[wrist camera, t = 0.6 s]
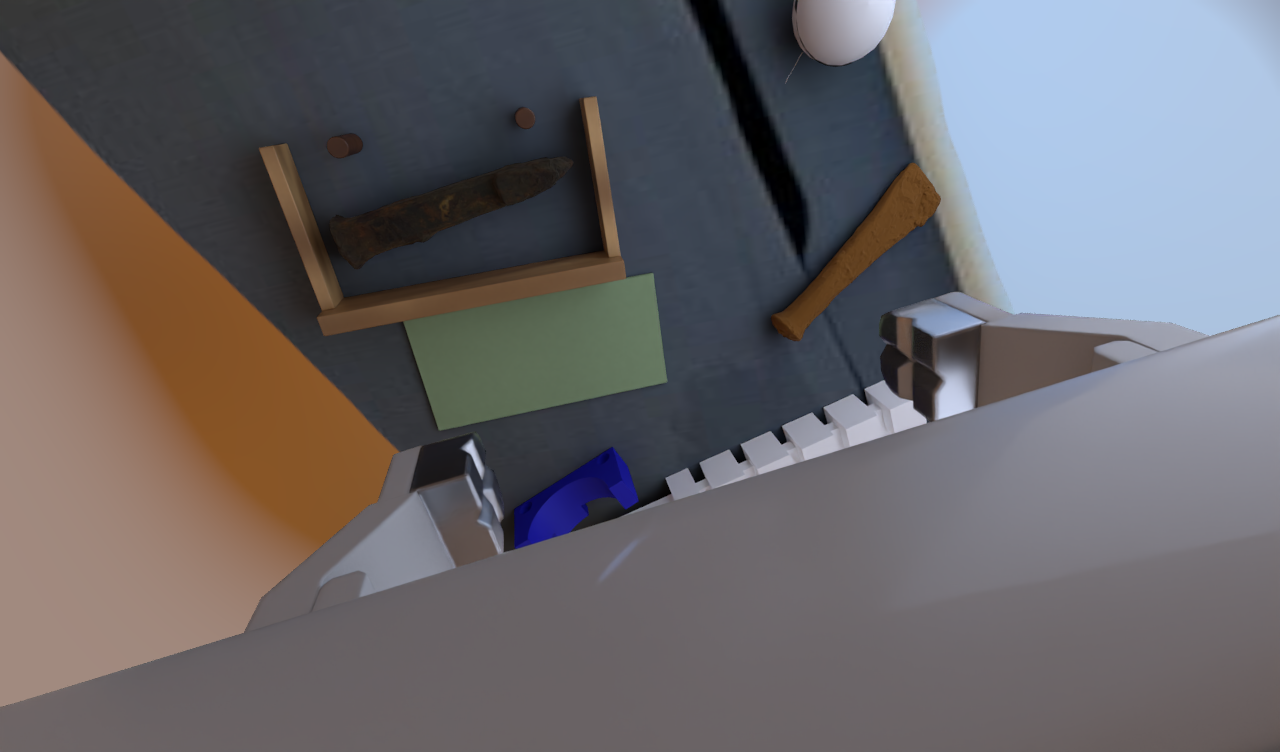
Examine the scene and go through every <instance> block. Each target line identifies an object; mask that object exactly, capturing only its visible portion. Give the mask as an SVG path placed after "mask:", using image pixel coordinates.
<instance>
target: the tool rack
mask: <svg viewBox="0 0 1280 752" xmlns="http://www.w3.org/2000/svg"><path fill="white" fill-rule="evenodd" d="M579 101H580V107H581V113H582V119H583V125H584V131H585V138H586V144H587V150H588V156H589V162H590V168H591V174H592V180H593V187H594V193H595V199H596V205H597V211H598V217H599V223H600V229H601V235H602V242H603V248H604V250H602V251H597V252H591V253H586V254H580V255H575V256H570V257H564V258H559V259H553V260H548V261H542V262H537V263H531V264H526V265H520V266H515V267H510V268H504V269H499V270H493V271H488V272H482V273H477V274H471V275H466V276H461V277H455V278H450V279H444V280H439V281H433V282H428V283H422V284H417V285H411V286H406V287H401V288H395V289H390V290H384V291H379V292H373V293H368V294H362V295H357V296H351V297H346V298H344V297H343V294H342V291H341V288H340V286H339V283H338V280H337V278H336V275H335V272H334V269H333V267H332V264H331V261H330V259H329V256H328V253H327V250H326V248H325V245H324V242H323V240H322V237H321V234H320V231H319V229H318V226H317V223H316V221H315V218H314V215H313V212H312V210H311V207H310V204H309V202H308V199H307V196H306V193H305V191H304V188H303V185H302V183H301V180H300V177H299V175H298V172H297V169H296V166H295V164H294V161H293V158H292V156H291V153H290V150H289V147H288V145H287V144H286V143H285V144H279V145H272V146H267V147H261V148H259V151H260V153H261V156H262V158H263V161H264V163H265V166H266V168H267V171H268V174H269V176H270V179H271V181H272V184H273V186H274V189H275V192H276V194H277V197H278V199H279V202H280V204H281V207H282V210H283V212H284V215H285V217H286V220H287V222H288V225H289V228H290V230H291V233H292V235H293V238H294V240H295V243H296V246H297V248H298V251H299V253H300V256H301V258H302V261H303V263H304V266H305V269H306V271H307V274H308V276H309V279H310V281H311V284H312V287H313V289H314V292H315V294H316V297H317V299H318V302H319V305H320V307H321V310H322V312H321V313H320V314H319V315H318V316H317V320H318V322H319V325H320V327H321V330H322V332H323V335H324V336H328V335H333V334H339V333H344V332H349V331H355V330H360V329H365V328H370V327H376V326H381V325H386V324H391V323H397V322H402V321H407V320H412V319H418V318H423V317H428V316H433V315H439V314H444V313H449V312H455V311H460V310H465V309H470V308H476V307H481V306H486V305H491V304H497V303H502V302H507V301H512V300H518V299H523V298H528V297H533V296H539V295H544V294H549V293H555V292H560V291H565V290H570V289H576V288H581V287H586V286H591V285H597V284H602V283H607V282H612V281H618V280H623V279H626V273H625V266H624V260H623V259H622V258H621V256H620V249H619V242H618V235H617V229H616V222H615V216H614V209H613V203H612V196H611V189H610V183H609V176H608V170H607V163H606V156H605V150H604V143H603V137H602V130H601V123H600V117H599V110H598V104H597V97H587V98H581V99H579ZM515 120H516V123H517V124H518V126H519V127H521V128H523V129H529V128H531V127H532V126H533V125H534V123H535V115H534V113H533V112H532V111H531V110H530V109H528V108H525V107H522V108H519V109H518V110H517V111H516V113H515ZM362 147H363V143H362V140H361V139H360V138H359V137H358V136H357V135H355V134H345V135H340V136H335V137H332V138H330V139H329V140H328V142H327V149H328V151H329V153H330V154H331V155H332V156H334V157H336V158H344V157H347V156H350V155H353V154H356V153H358V152H360V151H361V150H362Z"/></svg>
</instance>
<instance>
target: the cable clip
mask: <svg viewBox="0 0 1280 752" xmlns="http://www.w3.org/2000/svg"><path fill="white" fill-rule="evenodd" d="M602 497H612V498H616V499H617V500H618V501H619V502H620V503H621V504H622V506H623V507H624V508H625V509H627V508H629V507H630V506H632V505H634V504H635V503H637V502H638V501H639V500H638V497H637V494H636V491H635V488H634V485H633V482H632V479H631V475H630V472H629V469H628V467H627V465H626V464H625V463H624V461H623V460H622V459H621V457H620V456H619V455H618V453H617V452H616V451H615V450H614V448H613V447H611V448H610V449H608V450H607V451H605V452H604V453H602V454H600V455H599V456H597V457H596V458H594V459H593V460H591V461H589V462H588V463H586V464H585V465H583V466H581V467H580V468H578V469H577V470H575V471H574V472H572V473H570V474H569V475H567V476H566V477H564V478H563V479H561V480H559V481H558V482H556V483H555V484H553V485H551V486H550V487H548V488H547V489H545V490H544V491H542V492H540V493H539V494H537V495H536V496H534V497H533V498H531V499H529V500H528V501H526V502H525V503H523V504H521V505H520V506H518V507H517V508H515V509H514V524H515V549H518V548H521V547H525V546H528V545H531V544H535V543H538V542H541V541H544V540H548V539H551V538H554V537H557V536H561V535H564V534H567V533H569V532H570V531H571V530H572V529H573V528H574V527H575V526H576V525H577V524H578V523H579V522H580V521H582V520H583V519H584V518H586V517H587V516H588V515H589V514H588V508H587V506H586V505H585V503H587V502H589V501H591V500H594V499H597V498H602Z"/></svg>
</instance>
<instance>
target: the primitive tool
mask: <svg viewBox="0 0 1280 752" xmlns="http://www.w3.org/2000/svg"><path fill="white" fill-rule="evenodd" d="M940 201H941V198H940V196H939V195H938V194H937V192H936V191H935V188H934V186H933V185H932V184H931V182H930V181H929V180H928V178H927V177H926V175H925V174H924V173H923V172H922V170H921V169H920V168H919V167H918V166H917V165H916V164H915V163H911V164H909V165H908V166H907V167H906V169H905V170H903V171H901V173H900V174H899V175H898V176H897V177H896V178H895V180H894V181H893V182H892V184H891V185H890V187H889V188H888V189H887V191H886V192H885V193H884V195H883V196H882V198H881V199H880V200H879V202H878V203H877V205H876V206H875V207H874V209H873V211H872V212H871V213H870V214H869V215H868V216H867V218H866V219H865V220H864V221H863V222H862V224H861V225H860V226H859V227H858V228H857V229H856V231H855V233H854V234H853V235H852V236H851V237H850V238H849V240H848V241H847V242H846V243H845V244H844V245H843V247H842V248H841V249H840V250H839V251H838V252H837V253H836V255H835V256H834V257H833V258H832V259H831V261H830V262H828V263H827V265H826V266H825V268H824V269H823V270H822V271H821V273H820V274H819V275H818V276H817V278H816V279H815V280H814V281H813V282H812V283H811V284H810V285H809V286H808V287H807V288H806V290H805V291H804V292H803V293H802V294H801V295H800V296H798V297H797V299H796V300H795V301H794V302H793V303H792V304H791V305H790V306H788V307H787V308H786V309H785V310H784V311H783V312H780V313H777V314H773V315H772V316H771V320H772V324H773V325H774V327H775V328H776V329H777V331H778V333H779V334H782V335H783V337H786V338H788V339H790V340H793V341H800V340H801V338H802V337H803V333H804V331H805V329H806V328H807V327H808V326H809V325H810V323H811V322H812V321H813V320H814V319H815V318H816V317H817V316H818V315H819V314H820V313H822V312H823V311H824V309H825V308H826V307H827V306H828V305H829V304H830V302H831V301H832V300H833V299H834V298H835V297H836V296H837V295H838V294H839V293H840V292H841V291H842V290H843V289H844V288H846V287H847V286H848V285H849V284H850V283H852V282H853V280H855V279H856V277H858V276H859V275H860V274H861V273H862V272H863V271H864V270H865V269H866V268H867V267H869V266H870V265H871V264H872V263H873V262H874V261H875V260H876V259H877V258H879V257H880V256H881V255H882V254H883V253H885V252H886V251H887V250H888V249H890V248H891V247H892V246H893V245H894V244H895V243H897V242H898V241H899V240H900V239H902V238H904V237H905V236H906V235H907V234H908V233H909V232H910V231H912V230H914V228H915V227H917V226H919V227H922V226H923V225H924V224H925V222H926V221H927V219H928V218H929V217H931V216H932V215H933V214H934V213H935V211H936V209H937V207H938V206H939V204H940Z"/></svg>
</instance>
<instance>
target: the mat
mask: <svg viewBox="0 0 1280 752" xmlns="http://www.w3.org/2000/svg"><path fill="white" fill-rule="evenodd" d="M403 323H404V326H405V329H406V332H407V335H408V338H409V341H410V344H411V347H412V350H413V353H414V356H415V359H416V362H417V365H418V368H419V371H420V374H421V377H422V380H423V383H424V386H425V389H426V392H427V395H428V399H429V402H430V405H431V408H432V411H433V414H434V417H435V420H436V423H437V426H438V429H439V431H440V430H445V429H450V428H455V427H459V426H464V425H469V424H473V423H478V422H483V421H488V420H492V419H497V418H502V417H506V416H511V415H516V414H520V413H525V412H530V411H535V410H539V409H544V408H549V407H553V406H558V405H563V404H567V403H572V402H577V401H582V400H586V399H591V398H596V397H600V396H605V395H610V394H615V393H619V392H624V391H629V390H633V389H638V388H643V387H647V386H652V385H657V384H662V383H666V382H667V377H666V369H665V362H664V354H663V346H662V338H661V331H660V323H659V315H658V308H657V300H656V292H655V284H654V277H653V273H648V274H643V275H638V276H632V277H627V278H626V279H623V280H618V281H612V282H607V283H602V284H597V285H591V286H586V287H581V288H576V289H570V290H565V291H560V292H555V293H549V294H544V295H539V296H533V297H528V298H523V299H518V300H512V301H507V302H502V303H497V304H491V305H486V306H481V307H476V308H470V309H465V310H460V311H455V312H449V313H444V314H439V315H433V316H428V317H423V318H418V319H412V320H407V321H403Z"/></svg>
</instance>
